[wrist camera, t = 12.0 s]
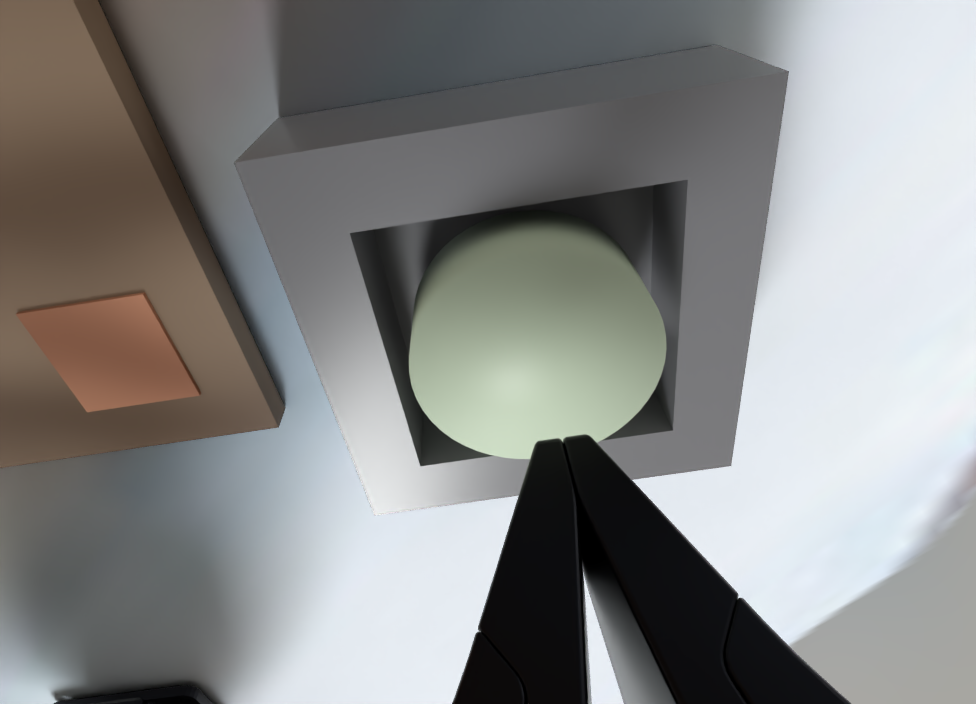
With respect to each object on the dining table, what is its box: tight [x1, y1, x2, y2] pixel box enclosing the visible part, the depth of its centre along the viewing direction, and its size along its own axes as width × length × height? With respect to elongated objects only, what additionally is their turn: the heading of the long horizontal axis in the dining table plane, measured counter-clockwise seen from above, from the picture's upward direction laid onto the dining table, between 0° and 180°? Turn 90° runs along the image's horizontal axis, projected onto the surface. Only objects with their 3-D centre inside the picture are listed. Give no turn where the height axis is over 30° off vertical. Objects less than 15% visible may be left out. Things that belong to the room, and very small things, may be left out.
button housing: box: [234, 45, 789, 515], centre depth 13 cm, size 9×9×3 cm
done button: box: [409, 210, 667, 459], centre depth 12 cm, size 5×5×2 cm
